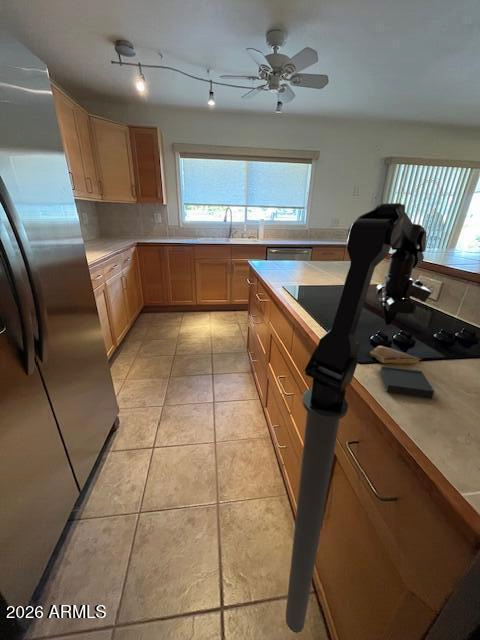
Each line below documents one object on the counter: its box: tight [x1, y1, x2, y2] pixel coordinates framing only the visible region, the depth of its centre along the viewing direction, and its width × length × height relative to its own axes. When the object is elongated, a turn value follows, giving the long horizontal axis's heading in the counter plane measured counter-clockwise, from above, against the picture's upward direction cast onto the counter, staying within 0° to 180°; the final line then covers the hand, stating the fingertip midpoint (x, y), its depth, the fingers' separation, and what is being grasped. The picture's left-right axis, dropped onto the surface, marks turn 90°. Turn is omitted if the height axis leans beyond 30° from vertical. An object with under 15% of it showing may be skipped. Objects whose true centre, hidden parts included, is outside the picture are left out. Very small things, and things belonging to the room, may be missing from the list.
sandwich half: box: [369, 345, 423, 364], centre depth 71 cm, size 11×8×2 cm
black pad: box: [379, 365, 435, 400], centre depth 62 cm, size 9×8×2 cm
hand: (387, 324), depth 79 cm, fingers closed
